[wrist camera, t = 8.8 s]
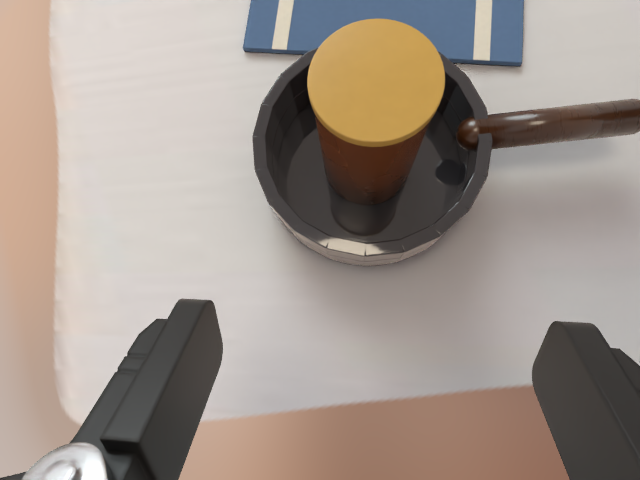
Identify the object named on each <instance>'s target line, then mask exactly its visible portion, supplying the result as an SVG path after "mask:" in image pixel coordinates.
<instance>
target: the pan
mask: <svg viewBox="0 0 640 480" xmlns="http://www.w3.org/2000/svg"><path fill="white" fill-rule="evenodd" d="M318 48H319V47H318ZM318 48H315V49H313V50H311V51H309V52H307V53H305V54H304V55H303V56H302V57H301V58H299V59H298V60H297V61H296V62H295V63H293V64H292V65H291V66H290V67H289V68H287V69H286V70H285V71H284V72H283V73H281V75H280V76H279V77H278V79H277V80H276V82H275V84H274V85H273V87H272V88H271V90H270V91H269V93H268V94H267V96H266V97H265V99H264V100H263V102H262V104H261V107H260V111H259V114H258V118H257V122H256V126H255V129H254V133H253V152H254V166H255V172H256V175H257V177H258V179H259V182H260V184H261V186H262V189H263V191H264V194H265V196H266V198H267V201H268V203H269V204H270V206H271V207H272V208H273V210H274V211H275V213H276V214H277V215H278V217H279V218H280V220H281V221H282V222H283V223H284V224H285V225H286V226H287V227H288V229H289V230H290V231H291V232H292V233H293V234H294V235H295V236H296V237H297V239H298V240H299V241H300V242H301V243H303V244H304V245H306V246H308V247H309V248H310V249H312V250H314V251H315V252H317V253H319V254H321V255H323V256H325V257H327V258H329V259H332V260H335V261H339V262H343V263H347V264H353V265H360V266H375V265H383V264H390V263H396V262H399V261H401V260H404V259H407V258H409V257H411V256H414V255H416V254H418V253H419V252H422V251H424V250H426V249H428V248H429V247H430V246H431V245H432V244H434V243H435V242H436V241H437V240H438V239H439V238H440V237H441V236H442V235H443V234H444V233H446V232H447V231H448V230H449V229H450V228H451V227H452V226H453V225H454V224H455V223H456V222H458V221H459V220H460V219H461V218H462V217H463V216H464V215H465V214H466V213H467V212H468V211H469V210H470V208H471V207H472V205H473V203H474V201H475V199H476V197H477V196H478V194H479V192H480V190H481V188H482V186H483V184H484V183H485V181H486V179H487V176H488V169H489V163H490V156H491V150H492V141H493V140H492V135H491V133H485V134H478V138H477V145H476V147H475V149H474V150H473V151H468V150H465V149H463V148H462V147H461V146H460V145H459V144H458V142H457V140H456V131H457V128H458V126H459V125H460V123H461V122H462V121H464V120H465V119H467V118H469V117H473V118H474V119H475V120H478V119H487V118H488V115H487V110H486V107H485V104H484V103H483V101H482V99H481V98H480V96H479V94H478V93H477V91H476V89H475V87H474V86H473V84H472V82H471V81H470V79H469V77H467V75H466V74H465V73H464V72H462V71H461V70H460V69H459V68H458V67H457V66H456V65H454V64H453V63H452V62H451V61H450V60H449V59H448V58H446V57H445V56H444V55H443V54H441V52H439V51H438V53H439V55H440V57H441V60H442V62H443V66H444V71H445V88H444V93H443V96H442V99H441V102H440V104H439V107H438V109H437V111H436V113H435V114H434V116H433V118H432V119H431V120H430V123H429V125H428V128H427V130H426V133H425V135H424V138H423V140H422V143H421V146H420V148H419V151H418V153H417V156H416V158H415V161H414V163H413V166H412V168H411V171H410V174H409V176H408V179H407V181H406V183H405V185H404V186H403V188H402V189H401V190H400V191H399V192H398V193H397V194H396V195H395V196H393V197H392V198H390V199H389V200H387V201H384V202H382V203H379V204H374V205H360V204H356V203H352V202H350V201H348V200H346V199H344V198H342V197H341V196H339V195H338V194H337V193H336V192H335V191H334V189H333V188H332V187H331V185H330V184H329V182H328V180H327V177H326V173H325V168H324V163H323V157H322V152H321V146H320V141H319V135H318V130H317V124H316V119H315V113H314V111H313V109H312V106H311V103H310V100H309V95H308V88H307V77H308V70H309V67H310V63H311V61H312V59H313V56H314V54H315V53H316V51H317V50H318Z"/></svg>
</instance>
